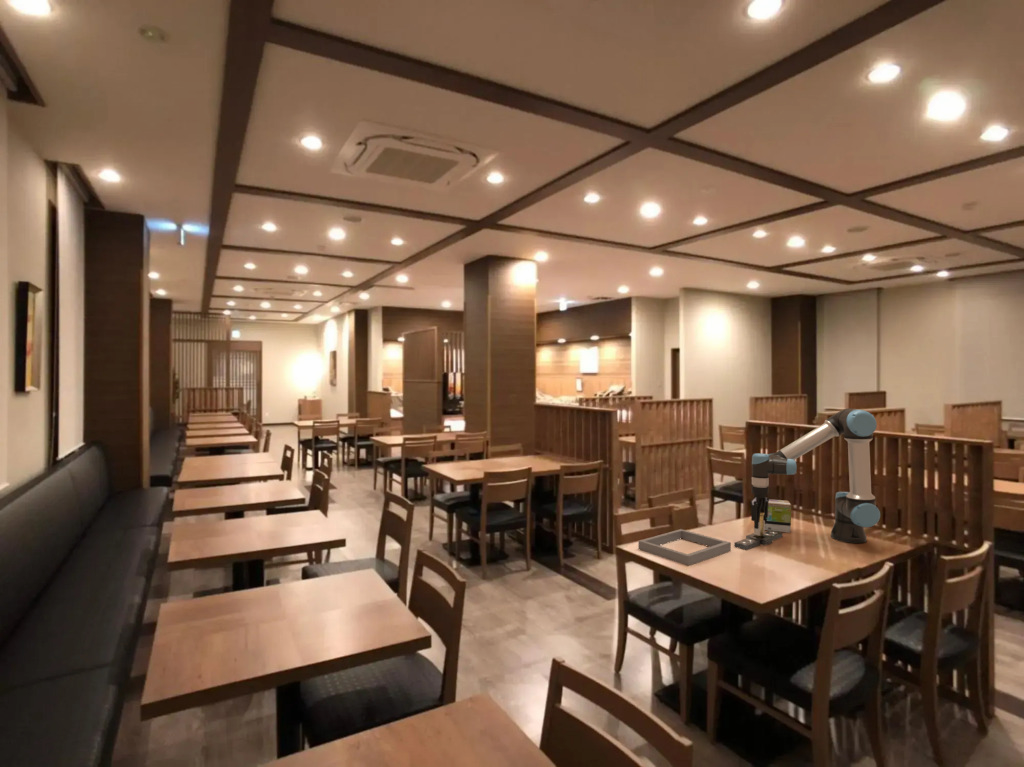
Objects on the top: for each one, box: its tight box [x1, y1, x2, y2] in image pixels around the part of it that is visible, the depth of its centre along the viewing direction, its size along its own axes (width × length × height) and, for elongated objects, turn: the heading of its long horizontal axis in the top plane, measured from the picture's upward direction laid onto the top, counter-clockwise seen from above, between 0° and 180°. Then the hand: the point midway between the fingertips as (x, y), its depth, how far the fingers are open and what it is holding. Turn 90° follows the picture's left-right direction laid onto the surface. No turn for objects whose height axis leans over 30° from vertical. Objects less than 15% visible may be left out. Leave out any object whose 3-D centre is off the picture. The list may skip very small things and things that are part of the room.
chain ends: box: [733, 530, 784, 551], centre depth 272 cm, size 9×33×2 cm, turn 128°
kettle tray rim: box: [637, 528, 732, 566], centre depth 259 cm, size 27×32×4 cm
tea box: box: [765, 498, 792, 534], centre depth 294 cm, size 15×10×15 cm, turn 73°
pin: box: [755, 512, 764, 539], centre depth 272 cm, size 4×4×14 cm
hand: (759, 534), depth 272 cm, fingers closed on pin, 3 cm apart
